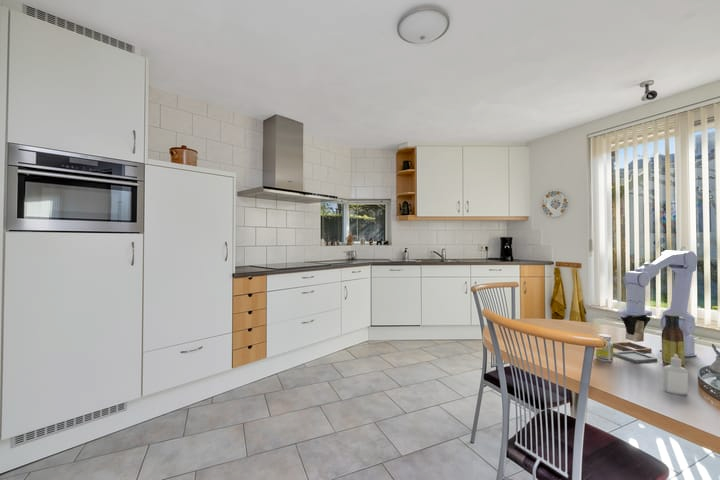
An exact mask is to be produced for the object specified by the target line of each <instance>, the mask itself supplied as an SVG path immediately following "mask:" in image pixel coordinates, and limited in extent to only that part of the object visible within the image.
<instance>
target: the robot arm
mask: <svg viewBox="0 0 720 480" xmlns="http://www.w3.org/2000/svg"><path fill="white" fill-rule="evenodd" d="M698 258H699V257H698V256H697V254H696V253H695V252H694V251H693V250H669V249H666V250H664V251H662V252H660V254H659V257H657V259H655V260H653V262H644V263H643V264H642V265H641V266H639V267H637V268H635V269H634V270H629V271H627V272H625V273H624V275H623V277H622V281H623V283H624V288H625V289H626V308H625V309H623V310H621V311H618V317H620V319H621V320H622V323H623V324H624V328H625V331H626V330H627V334H631V335H634V332H635V325H636V323H637V321H638V320H640V321H644V330H645V329H646V326H647V325H648V323H649V322H650V320H651V317H652V315H653V311H651V310H648V309H647V310H646V308H645V307H646V287H647V286H648V285H650V281H651V280H652V279H653V278H655V277H656V276H658V275H659V274H660V272H661V270H662V269H663V268H666V267H667V268H668V269H670V270H672V271H673V272H674V273H675V274H674V275H675V277H674V281H673V287H672V289H673V290H672V295H671V300H670V308H668V309H665V310H664V311H663V312H662V314H661V317H660V318H659V325H660V327H661V328H662V330H663V329H664V327H665V324H666V319H665V314H675V315H679V318H680V319H679V328H680V329H681V331H682V332H683V340H684V358H685V357H696V356H698V354H697V353H695V352H696V351H695V348H696V347H695V346H696V343H695V342H696V340H695V337H694V336H693V333H694V332H695V331H696V322H695V321H696V319H695V318H696V317H694V315H693V314H691V313H690V312H689V311H688V307H689V303H690V302H689V300H690V294H691V287H692V282H693V281H692V279H693V275H694V274H693V273H694V272H696V271H697V267H698V260H699V259H698ZM659 351H660V352H662V348H660V349H659Z"/></svg>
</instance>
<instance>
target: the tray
mask: <svg viewBox="0 0 720 480" xmlns="http://www.w3.org/2000/svg"><path fill="white" fill-rule="evenodd" d="M614 356H615V357H617V358H620V359H623V360H625V361H628V362H631V363H633V364H641V363H642V364H643V363H653V362H654V363H655V362H658V358H657V357H654V356H651V355H649V354H646V353H639V352H636V351H624V350H621V351H613V357H614Z"/></svg>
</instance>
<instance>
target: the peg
mask: <svg viewBox="0 0 720 480" xmlns="http://www.w3.org/2000/svg"><path fill="white" fill-rule="evenodd" d="M644 337H645V329H644V321H640V320H638V321H637V323H636V325H635V332H634V335H631V334H627V330H626V329H625V340H628V341H632V342H634V343H639V342H644V340H645V339H644Z"/></svg>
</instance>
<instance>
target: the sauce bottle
mask: <svg viewBox="0 0 720 480" xmlns="http://www.w3.org/2000/svg"><path fill="white" fill-rule="evenodd" d="M680 318H681V317H679V315H675V314H665V319H666V324H665V327H664V329H663V328H662V331H661V349H662V351H661V360H662V364H663V366H664V367H665V366H667V365H671V358H673V357H674V354H677V355H678V358H679V359H681V367H683V368H685V357H684V340H683V332H682V331H681V329H680V328H679V319H680Z"/></svg>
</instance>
